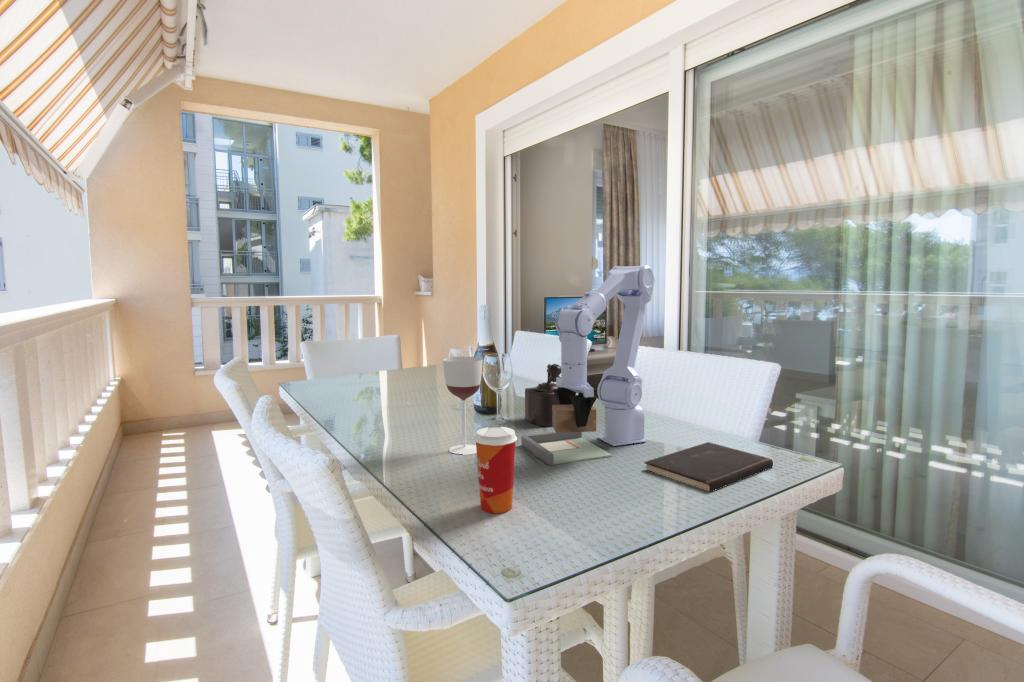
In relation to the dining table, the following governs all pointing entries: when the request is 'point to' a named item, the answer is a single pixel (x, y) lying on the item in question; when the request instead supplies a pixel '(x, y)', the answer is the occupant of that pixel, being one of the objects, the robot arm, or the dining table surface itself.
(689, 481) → the hardcover book
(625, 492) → the dining table surface
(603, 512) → the dining table surface
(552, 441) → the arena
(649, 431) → the dining table surface
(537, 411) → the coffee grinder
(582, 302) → the robot arm
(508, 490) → the paper cup
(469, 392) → the wineglass
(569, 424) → the walnut block
